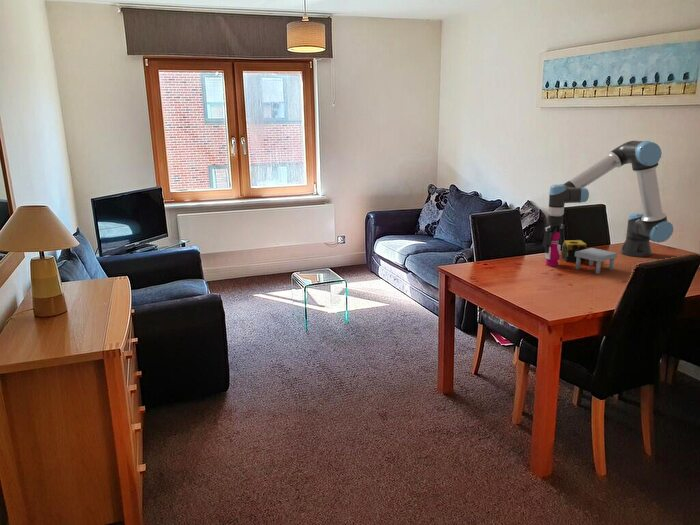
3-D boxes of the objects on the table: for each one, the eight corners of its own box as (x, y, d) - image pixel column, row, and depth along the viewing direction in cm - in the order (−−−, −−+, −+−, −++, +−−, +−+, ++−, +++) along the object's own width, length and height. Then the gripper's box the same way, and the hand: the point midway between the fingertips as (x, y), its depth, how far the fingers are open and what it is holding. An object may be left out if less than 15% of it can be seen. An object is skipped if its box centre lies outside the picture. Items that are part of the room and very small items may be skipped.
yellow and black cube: (579, 257, 287) (581, 240, 285) (585, 262, 278) (587, 244, 275) (560, 257, 288) (562, 240, 286) (566, 262, 279) (567, 244, 276)
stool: (590, 264, 273) (591, 247, 271) (615, 270, 262) (617, 252, 260) (573, 268, 266) (575, 251, 264) (598, 274, 255) (600, 257, 253)
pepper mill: (557, 267, 269) (560, 229, 264) (543, 265, 273) (545, 228, 268) (560, 264, 275) (563, 227, 270) (546, 262, 279) (548, 226, 274)
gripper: (561, 211, 275) (558, 253, 281) (536, 216, 265) (533, 259, 271) (574, 213, 269) (570, 256, 275) (549, 218, 259) (545, 262, 265)
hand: (552, 257), depth 273 cm, fingers closed on pepper mill, 7 cm apart
